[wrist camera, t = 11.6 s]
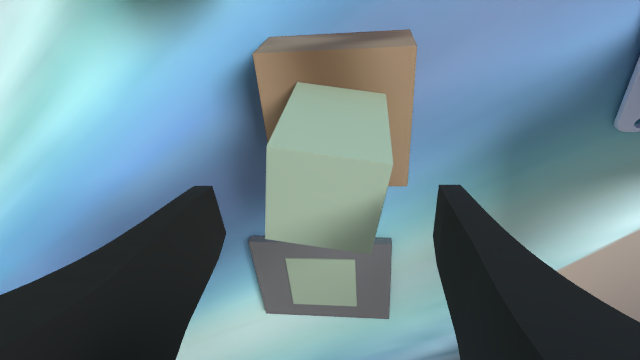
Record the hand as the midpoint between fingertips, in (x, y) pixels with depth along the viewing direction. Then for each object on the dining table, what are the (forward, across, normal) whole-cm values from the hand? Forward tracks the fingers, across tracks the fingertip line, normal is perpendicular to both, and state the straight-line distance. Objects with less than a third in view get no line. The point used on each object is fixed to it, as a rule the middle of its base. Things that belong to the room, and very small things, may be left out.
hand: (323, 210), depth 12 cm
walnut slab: (+10, 0, 0) cm, 10 cm away
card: (+10, +2, +14) cm, 17 cm away
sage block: (+7, 0, 0) cm, 7 cm away
